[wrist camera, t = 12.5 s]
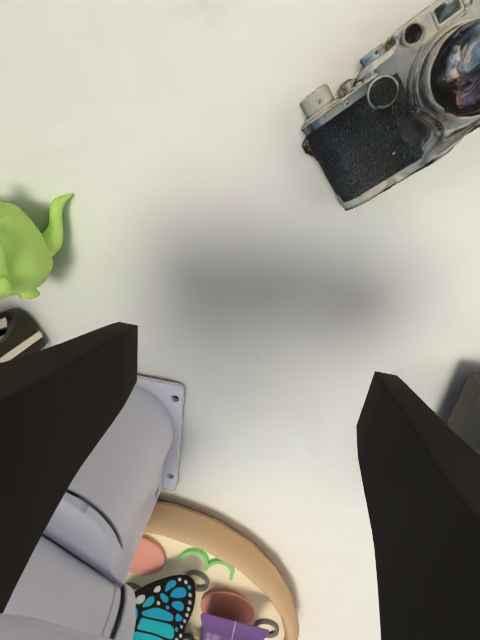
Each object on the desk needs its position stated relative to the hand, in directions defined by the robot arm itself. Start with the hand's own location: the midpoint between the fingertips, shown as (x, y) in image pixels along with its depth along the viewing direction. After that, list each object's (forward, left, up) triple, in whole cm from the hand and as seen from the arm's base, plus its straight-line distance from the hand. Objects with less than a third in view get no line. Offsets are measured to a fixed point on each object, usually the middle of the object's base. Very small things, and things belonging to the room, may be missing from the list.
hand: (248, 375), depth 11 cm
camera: (+9, -5, -11) cm, 15 cm away
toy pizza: (-32, -7, -9) cm, 34 cm away
